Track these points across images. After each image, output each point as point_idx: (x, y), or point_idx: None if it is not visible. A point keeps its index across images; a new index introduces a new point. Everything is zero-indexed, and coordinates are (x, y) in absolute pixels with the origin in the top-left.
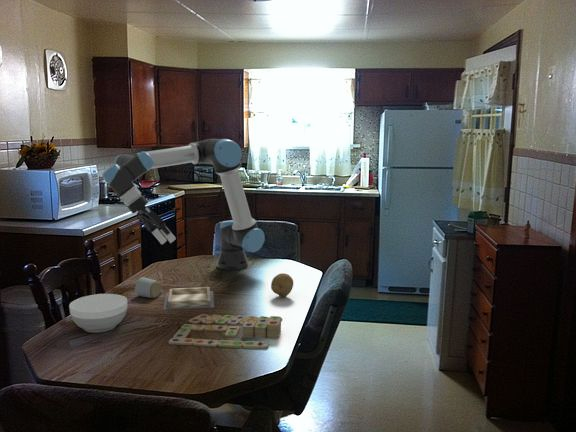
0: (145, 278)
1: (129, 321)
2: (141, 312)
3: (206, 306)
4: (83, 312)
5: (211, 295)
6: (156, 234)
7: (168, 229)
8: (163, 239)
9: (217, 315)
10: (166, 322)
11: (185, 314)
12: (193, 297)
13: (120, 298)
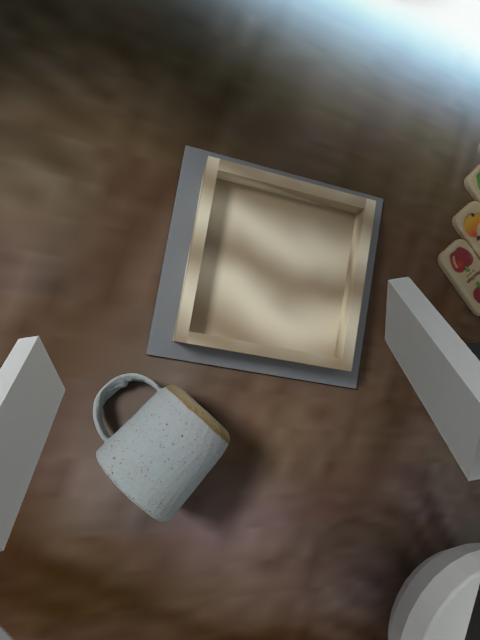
0: (156, 476)
1: (425, 514)
2: (351, 472)
3: None
4: None
5: None
6: (13, 475)
7: (475, 360)
8: (36, 377)
9: (467, 212)
10: None
11: None
12: (269, 251)
13: (446, 588)
